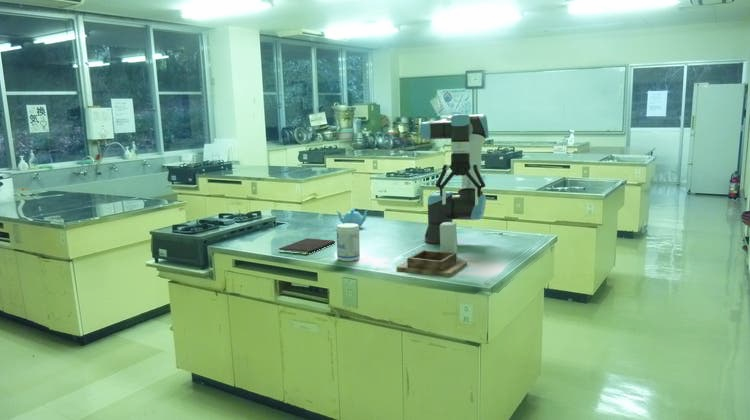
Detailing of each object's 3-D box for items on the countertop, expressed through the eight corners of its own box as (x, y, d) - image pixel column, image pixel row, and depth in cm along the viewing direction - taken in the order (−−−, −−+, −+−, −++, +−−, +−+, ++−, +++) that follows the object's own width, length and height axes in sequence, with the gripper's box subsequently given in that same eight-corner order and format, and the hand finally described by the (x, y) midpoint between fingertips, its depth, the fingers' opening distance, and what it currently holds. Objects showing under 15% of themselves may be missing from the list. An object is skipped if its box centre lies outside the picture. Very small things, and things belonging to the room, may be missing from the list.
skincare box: (454, 260, 221) (454, 225, 219) (439, 260, 223) (439, 224, 220) (457, 256, 229) (457, 221, 226) (443, 255, 231) (443, 221, 228)
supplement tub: (332, 259, 229) (331, 225, 226) (348, 255, 236) (346, 222, 233) (349, 263, 222) (348, 228, 220) (364, 258, 230) (363, 224, 227)
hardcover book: (278, 253, 246) (278, 248, 245) (307, 242, 266) (307, 238, 265) (308, 256, 238) (308, 251, 238) (335, 245, 259) (335, 240, 258)
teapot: (369, 227, 296) (369, 209, 295) (351, 231, 288) (350, 212, 286) (354, 224, 306) (353, 207, 304) (336, 228, 297) (335, 210, 295)
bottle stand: (396, 270, 209) (396, 258, 208) (416, 259, 224) (416, 248, 224) (449, 277, 198) (449, 264, 197) (467, 265, 213) (467, 253, 213)
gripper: (428, 153, 222) (428, 204, 224) (489, 152, 213) (489, 206, 215) (432, 153, 228) (433, 203, 231) (492, 152, 220) (492, 204, 222)
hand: (460, 204), depth 223 cm, fingers open, 13 cm apart
